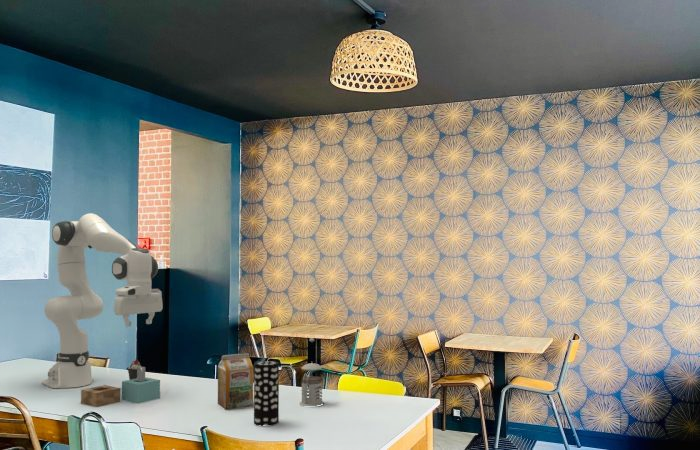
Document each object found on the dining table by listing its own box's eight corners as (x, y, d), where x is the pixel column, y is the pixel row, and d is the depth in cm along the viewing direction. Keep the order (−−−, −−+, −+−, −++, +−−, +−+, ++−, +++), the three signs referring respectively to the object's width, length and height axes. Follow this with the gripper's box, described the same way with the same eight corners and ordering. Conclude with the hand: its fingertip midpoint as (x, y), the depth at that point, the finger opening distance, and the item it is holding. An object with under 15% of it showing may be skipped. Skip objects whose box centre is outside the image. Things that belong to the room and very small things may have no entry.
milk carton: (225, 410, 223) (225, 357, 224) (217, 403, 233) (218, 353, 233) (253, 406, 228) (253, 355, 229) (244, 400, 237) (244, 351, 238)
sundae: (137, 394, 247) (138, 357, 248) (122, 394, 248) (123, 356, 249) (146, 391, 253) (146, 354, 254) (131, 390, 255) (132, 354, 255)
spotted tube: (254, 419, 210) (255, 361, 211) (278, 418, 211) (279, 360, 212) (252, 426, 202) (253, 365, 203) (278, 425, 203) (278, 365, 203)
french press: (328, 401, 235) (328, 336, 236) (317, 409, 224) (317, 340, 225) (305, 399, 238) (305, 335, 239) (292, 407, 227) (292, 339, 228)
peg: (135, 399, 235) (135, 367, 236) (141, 397, 238) (142, 366, 238) (139, 400, 234) (140, 368, 234) (146, 398, 236) (146, 367, 237)
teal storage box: (121, 402, 235) (122, 381, 235) (143, 397, 243) (144, 377, 243) (137, 406, 229) (138, 384, 229) (159, 400, 237) (160, 379, 237)
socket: (80, 405, 229) (81, 389, 230) (104, 400, 237) (105, 384, 238) (96, 409, 224) (96, 393, 224) (120, 404, 232) (120, 388, 232)
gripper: (156, 287, 249) (155, 321, 248) (111, 290, 232) (110, 327, 232) (166, 288, 245) (165, 323, 245) (121, 291, 228) (120, 328, 228)
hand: (138, 325), depth 238 cm, fingers open, 8 cm apart
